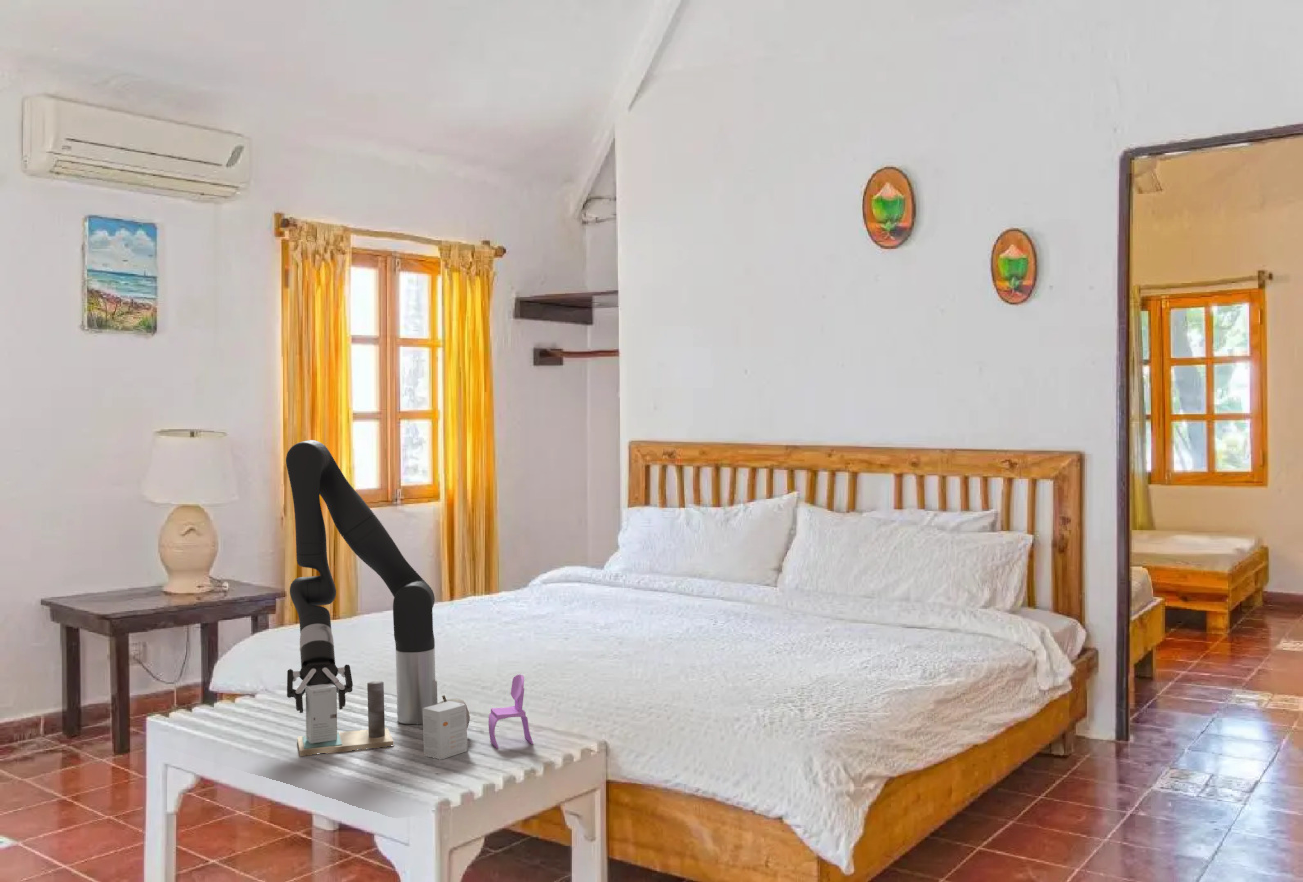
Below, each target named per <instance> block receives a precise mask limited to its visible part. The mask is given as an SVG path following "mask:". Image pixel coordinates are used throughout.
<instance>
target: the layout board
mask: <svg viewBox="0 0 1303 882" xmlns="http://www.w3.org/2000/svg"><path fill="white" fill-rule="evenodd" d="M384 686H385V684H384V681H382V680H381V681H380V680H374V681H369V682H367V683H366V689H367V723H368V724H367V725H368V727H367V729H360V730H350V731H341V732H340V731H339V732H337V740H334V741H327V742H320V743H313V744H311V743H309V742H308V741H307V740H306V735H303V736H302V735H300V736H297V746H298V753H299V757H306V755H307V756H313V755H312V754H317V753H326V754H333V753H343V752H351V751H352V750H355V751H358V750H357V749H364V750H367V749H366V748H374V749H381V748H380V747H383V748H387V747H386V746H391V745H393V746H394V740H393V737H392V735H391V732H390V730H389V728H388V727H385V726H386V725H385V724H386V723H385V720H386V719H385V690H384V689H385V687H384ZM352 752H353V751H352ZM317 755H318V754H317Z"/></svg>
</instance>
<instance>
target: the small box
mask: <svg viewBox="0 0 1303 882" xmlns="http://www.w3.org/2000/svg"><path fill="white" fill-rule="evenodd" d="M439 703H440V702H439ZM466 705H467V704H462V703H457V702H453V701H447V702H444V703H440V704H436V705H433V706H429V707H425V708H423V723H422V730H423V731H422V734H423V735H422V737H423V739H422V740H423V756H424V755H425V757H427V756H428V758H431V757H434V758H433V759H435V758H437V759H436V760H440V761H441V760H444V759H446V758H451V757H453V756H457V755H460V754H462V753H465V752H468V728H467V716H466Z"/></svg>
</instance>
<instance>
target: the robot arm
mask: <svg viewBox="0 0 1303 882" xmlns="http://www.w3.org/2000/svg"><path fill="white" fill-rule="evenodd" d="M285 464H286V469H287V475H288V478H289V482H290V483H289V484H290V489H291V495H292V500H293V509H294V510H293V511H294V523H295V525H294V527H295V547H296V548H295V550H296V556H295V557H296V563H297V565H298V566H299V567H301V568H308V569H314V570H316V571H317V572H318V573H319V575H316V576H301V577H297V578H295V579H294V580H292V582H291V584H290V587H289V595H290V599H291V601H292V603H293V606H294V608H295V610H296V613H297V616H298V620H299V631H300V633H299V634H300V635H299V652H300V670H299V671H298V670H297V671H294V670H293V669H292V668H290V669H288V670H287V671H286V672H287V674H286V675H287V676H286V679H287V681H286V682H287V683H286V697H287V698H289V699H291V698H294V699H295V709H296V711H297V712H299V714H303V713H304V704H303V702H304V701H303V697H304V695H305V694H306V686H313V685H321V684H333V685H335V686H336V687H337V701H338V709H339V710H340V711H341V710H343V708H344V707H346V694H347V693H352V692H353V686H354V684H353V677H352V671H351V666H350V665H349V664H345V665H344V666H343V667H337V664H336V659H335V658H336V656H335V643H334V636H333V633H332V632H333V631H332V621H331V612H330V611H329V610H328V609H327V607H324V606H327V605H331V604H332V603H333V602H334V600H335V599H336V597H337V588H336V585H335V581H334V578H333V575H332V573H331V570H330V566H329V562H328V550H327V548H328V547H327V533H326V531H327V530H326V525H325V520H324V515H323V511H322V508H321V507H322V506H321V499H320V497H321V498H322V500H323V501H324V503H325V505H326V507H327V510H328V512H329V515H330V516H331V519H332V521H333V524H334V526H335V528H336V529H337V531H338V533H339V534H340V535H341V537H342V539H343V540H344V542H346V544H347V545H348V546H349V548H350V549H351V550H352V551H353V553H354V554H355V555H356V556H357V557H358V558H359V559H360V560H361V561H362V562H364V564H366V565H367V566H368V567H370V569H371V570H372V571H374V572H375V573H376V574H377V575H378V576H379V578H381V579H382V581H383V582H384V584H385V585H386V586H387V588H388V589H389V591H390V593H391V595H392V596H393V601H392V616H393V617H392V618H393V638H394V642H395V676H396V677H395V678H396V680H395V681H396V708H397V709H396V712H397V713H396V716H397V722H398V723H400V724H404V725H405V724H406V725H420V724H422V725H423V708H425V707H429V706H433V705H436V704H438V703H439V702H438V681H437V679H436V649H435V645H436V644H435V643H436V641H435V640H436V639H435V635H434V621H433V620H434V619H433V609H434V608H433V607H434V605H435V602H436V601H435V594H434V591H433V589H432V587H431V586H430V585H429V583H427V582H426V580H424V579H423V578H422V576H421V575H419V573H418V572H417V571H416V570H415V569H414V568H413V566H411V564H410V563H409V562H408V561H407V560H406V558H405V557H404V555H403V554H402V552H401V551H400V548H399V547H398V546H397V545H396V543H395V541H394V539H392V537H391V535H390V534H389V532H388V531H387V529H386V528H385V527H384V525H383V524H382V522H381V520H379V518H378V516H377V515H376V514H375V513H374V512H373V511H372V509H371V508H370V507H369V505H368V504H367V503H366V501H365V500H364V498H362V497H361V495H360V494H359V493H358V491H356V490H355V489H354V487H353V486H352V485H351V483H350V482H348V480H347V479H346V477H345V475H344V473H343V472H342V470H341V468H340V467H339V465H338V463H337V462H336V460H335V459H334V457H333V455H332V453H331V451H330V450H329V449H328V447H327V446H326V445H325V444H324V443H322V442H320V441H317V440H314V439H309V440H304V441H300V442H297V443H295V444H294V445H292V446H291V447H290V448H289V449H288V451H287V453H286V457H285ZM338 674H339V675H340V676H341V677H343V678H344V681H345V684H343V683H342V682H341V681H340V680H339V678H337V676H338ZM298 678H300V680H301V682H300V685H299V686H298V687H297V689H295V688H294V683H295V682H296V681H297V680H298Z"/></svg>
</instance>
